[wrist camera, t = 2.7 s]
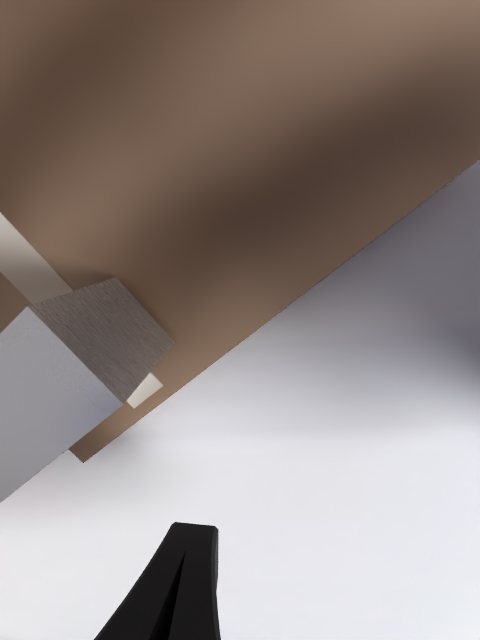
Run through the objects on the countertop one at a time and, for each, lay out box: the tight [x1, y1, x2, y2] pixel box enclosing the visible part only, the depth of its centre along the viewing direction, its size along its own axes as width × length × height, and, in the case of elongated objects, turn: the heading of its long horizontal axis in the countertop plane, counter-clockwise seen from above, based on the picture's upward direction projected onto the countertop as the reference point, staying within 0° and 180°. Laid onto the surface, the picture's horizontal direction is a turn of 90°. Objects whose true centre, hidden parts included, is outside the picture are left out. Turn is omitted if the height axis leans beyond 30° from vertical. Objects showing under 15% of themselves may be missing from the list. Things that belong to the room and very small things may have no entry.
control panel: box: [0, 0, 480, 463], centre depth 9 cm, size 18×23×4 cm
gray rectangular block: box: [0, 277, 175, 503], centre depth 10 cm, size 3×5×4 cm, turn 130°
